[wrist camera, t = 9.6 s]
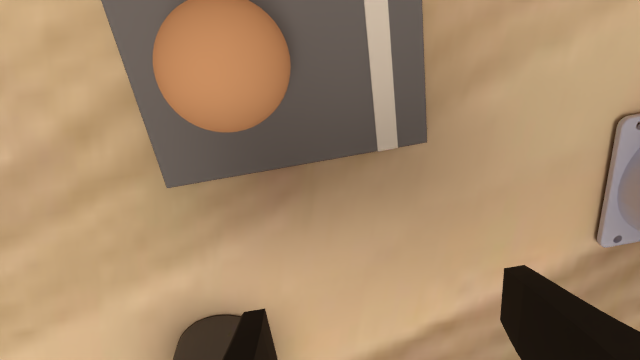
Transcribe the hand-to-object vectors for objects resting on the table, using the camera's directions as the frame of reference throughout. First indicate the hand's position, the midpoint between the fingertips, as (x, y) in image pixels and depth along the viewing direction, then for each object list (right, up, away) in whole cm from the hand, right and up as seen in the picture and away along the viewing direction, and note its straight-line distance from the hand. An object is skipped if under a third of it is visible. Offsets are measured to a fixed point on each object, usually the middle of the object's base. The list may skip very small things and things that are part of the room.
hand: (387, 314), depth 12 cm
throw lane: (-4, +10, +6) cm, 12 cm away
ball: (-6, +9, +5) cm, 12 cm away
